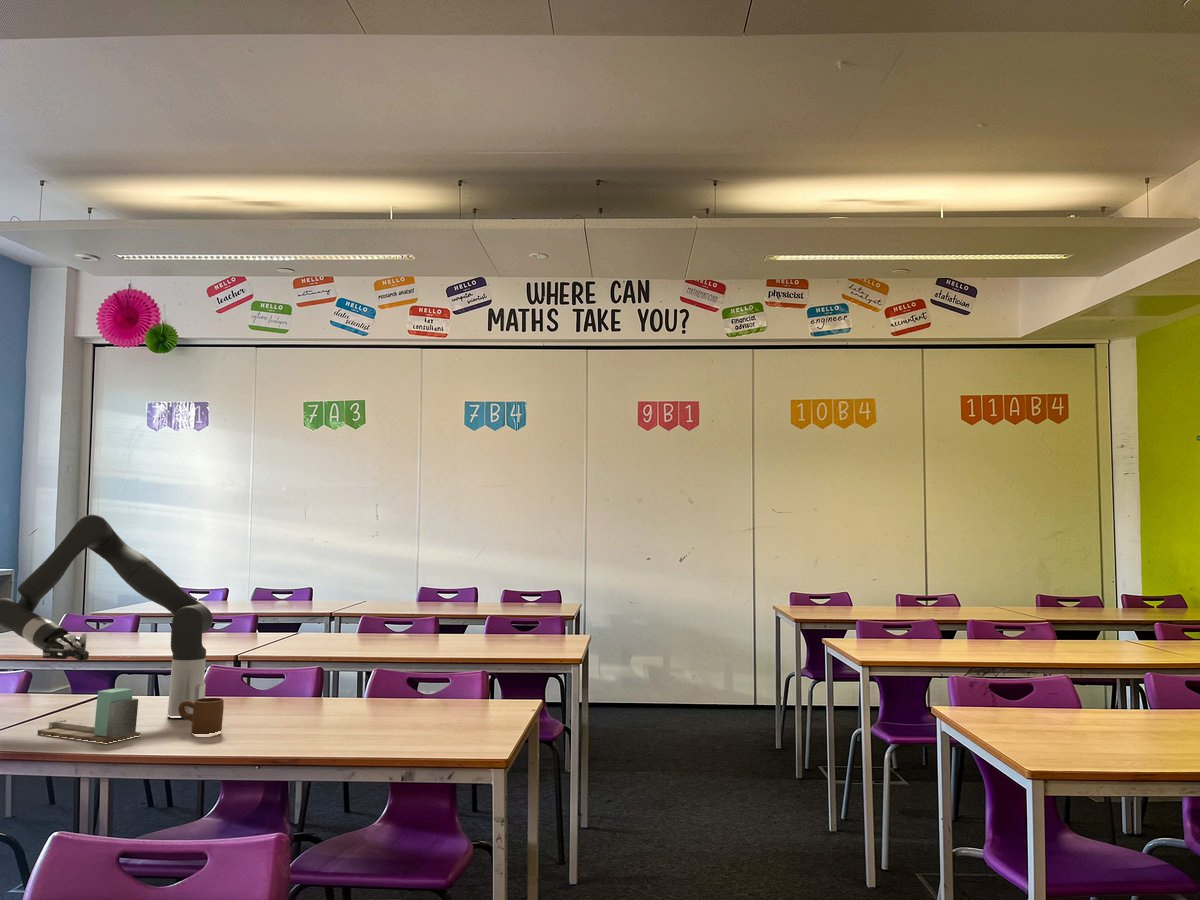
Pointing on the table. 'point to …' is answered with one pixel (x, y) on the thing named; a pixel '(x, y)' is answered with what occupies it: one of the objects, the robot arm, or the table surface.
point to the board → (81, 735)
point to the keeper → (103, 707)
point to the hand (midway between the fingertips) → (86, 657)
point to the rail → (110, 720)
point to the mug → (204, 714)
